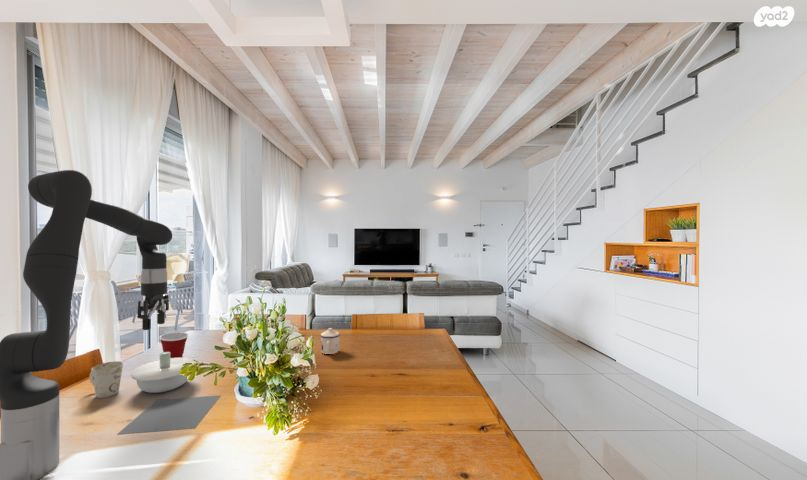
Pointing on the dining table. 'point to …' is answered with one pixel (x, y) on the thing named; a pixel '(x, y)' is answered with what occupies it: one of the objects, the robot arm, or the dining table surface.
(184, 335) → the plastic cup
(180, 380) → the cereal bowl
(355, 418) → the dining table surface
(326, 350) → the teacup with lid
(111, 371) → the mug
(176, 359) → the lid
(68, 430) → the dining table surface
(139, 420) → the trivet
